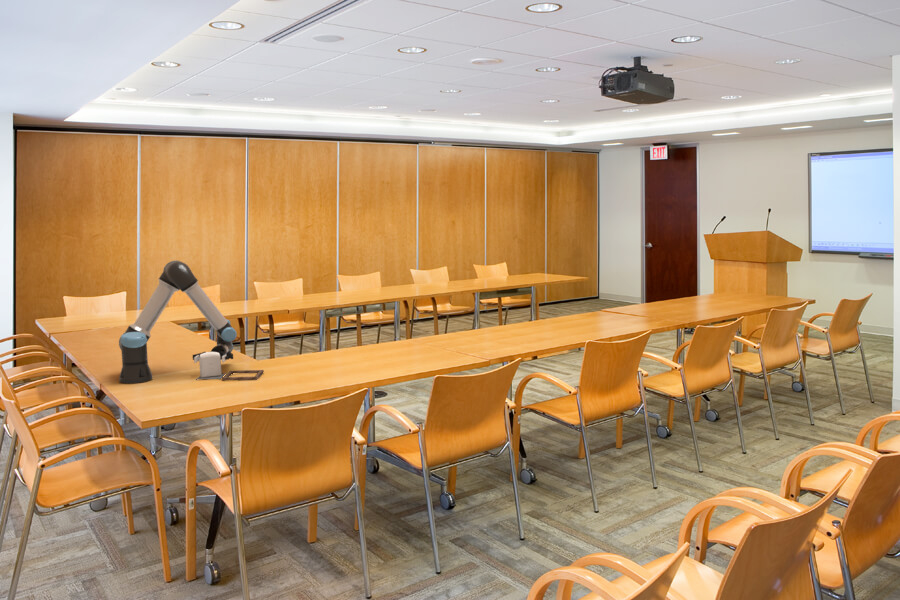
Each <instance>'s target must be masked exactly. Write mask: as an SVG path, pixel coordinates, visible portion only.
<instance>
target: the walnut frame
mask: <svg viewBox="0 0 900 600" xmlns="http://www.w3.org/2000/svg"><path fill="white" fill-rule="evenodd" d="M263 372H264V373H265V370H264V369H246V370H243V369H242V370H229V371H228V372H226V373H225V374H226V375H225V376H224V377H222V379H221V381H222V380H238V381H258V380H257V379H260V377H261V376H262V375H263V374H264V373H263ZM233 373H257V374H255V375H254V376H232V375H234V374H233ZM231 374H232V375H231ZM230 375H231V376H230ZM229 376H230V377H229Z"/></svg>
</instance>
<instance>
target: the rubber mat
mask: <svg viewBox="0 0 900 600" xmlns="http://www.w3.org/2000/svg"><path fill="white" fill-rule="evenodd" d="M225 374H226V373H221V376H211V377H203V378H201V377H200V375H199V376H198V377H197V378H195V380H196V381H198V380H197V379H221V378H222V377H223V376H224V375H225ZM221 380H222V379H221Z"/></svg>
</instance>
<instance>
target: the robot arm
mask: <svg viewBox="0 0 900 600" xmlns="http://www.w3.org/2000/svg"><path fill="white" fill-rule="evenodd" d="M179 291H181V292H182V293H185V295H187V297H188V298H189V299H190V301H192V303H193V305H195V307H196V308H197V309H198V310H199V311H200V313H201V314H202V315H203V317H204V318H205V319H206V321H208V322H209V324H210V325H211V326H212V328H213V329H214V330H215V331H216V332H215V334H216V335H215V336H216V345H215V346H214V347H212V349H211V350H210V352H218V353H219V354H220V358H221V363H224V362H226V361H227V360H234V354H233V353H232V352H233V350H234V344H233V343H232V342H233V341H235V340H236V338H237V335H238V333H237V331H236V329H235V328H234V327H233V326H232V325H231V320H229V319H226V317H225V316H224V315H223V314H222V312H221V311H220V310H219V308H218V307H217V306H216V305H215V304H214V302H213V301H212V300H211V298H210V296H208V295H207V293H206V292H205V290H204V289H203V288H202V287H201V286H200V284H199V280H198V279H197V277H196V276H195V275H194V272H193V271H192V270H191V268H190V266H189V265H188V264H186V262H183V261H180V260H171V261H169V262H168V263H166V264H165V266H164V267H163V271H162V273H161V275H160V276H159V278H158V285H157V287H156V288H155V289H154V291H153V293H152V295H151V296H150V298H149V300H148V301H147V303H146V304H145V306H144V307H143V309H142V311H141V312H140V314H139V315H138V317H137V319H136V320H135V322H134V323H132V324H129V325H128V327H127V328H126V330H125V331H124V333H123V334H121V335H120V338H119V340H118V347H119V348H120V350H121V351H120V352H121V363H122V364H121V365H122V367H121V370H120V374H119V379H118V380H119V383H121V384H140V383H139V382H141V383H145V382H144V381H146V382H149V381H148V380H150V381H151V379H152V378H153V373H152V370H151V368H150V366H149V361H148V360H149V359H148V346H147V345H148V344H147V343H148V341H149V340H150V338H151V331H152V329H153V327H154V326H155V325H156V323H157V321H158V320H159V318H160V316H161V314H163V311H164V310H165V308H166V306H167V305H168V303H169V302H170V300H171V298H172V297H173V295H174V294H175V292H179ZM206 352H207V351H203V352H199V353H195V354H192V360H193V362H194V364H196V363H198V362H199V357H200V354H203V353H206ZM152 380H153V379H152Z"/></svg>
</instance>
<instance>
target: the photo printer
mask: <svg viewBox="0 0 900 600" xmlns="http://www.w3.org/2000/svg"><path fill="white" fill-rule="evenodd" d="M205 352H206V353H203V354H200V357H199V361H198V362H199V373H200V374H199V376H200V377H201V378H203V377H211V376H221V374H222V360H221V358H220V354H219V353H218V352H211V351H205Z"/></svg>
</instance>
